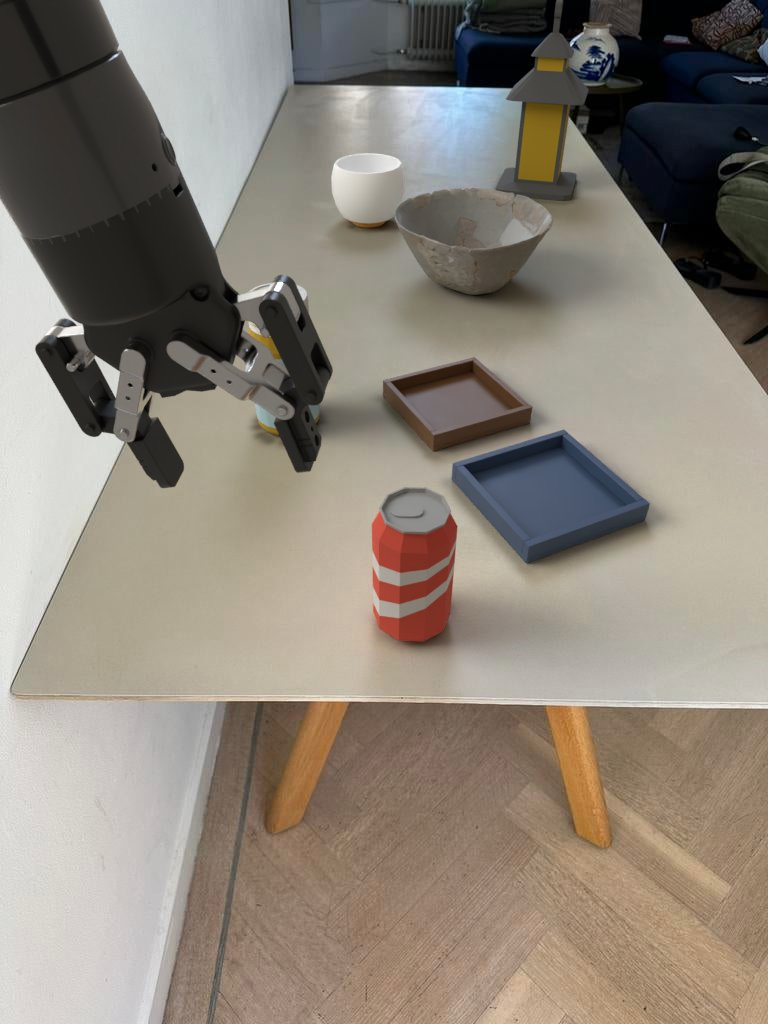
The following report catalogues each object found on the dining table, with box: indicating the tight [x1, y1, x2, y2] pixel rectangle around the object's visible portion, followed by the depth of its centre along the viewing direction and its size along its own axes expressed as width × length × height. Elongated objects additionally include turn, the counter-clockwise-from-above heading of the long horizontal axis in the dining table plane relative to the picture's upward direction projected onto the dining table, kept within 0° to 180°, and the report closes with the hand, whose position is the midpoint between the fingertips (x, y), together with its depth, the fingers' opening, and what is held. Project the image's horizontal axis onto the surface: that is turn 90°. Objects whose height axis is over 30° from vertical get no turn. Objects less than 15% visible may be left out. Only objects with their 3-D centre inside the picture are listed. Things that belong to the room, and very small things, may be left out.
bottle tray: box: [382, 356, 533, 452], centre depth 87 cm, size 12×12×2 cm
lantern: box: [495, 0, 589, 202], centre depth 136 cm, size 14×14×30 cm
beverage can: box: [371, 486, 458, 642], centre depth 59 cm, size 6×6×12 cm
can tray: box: [451, 429, 651, 564], centre depth 74 cm, size 14×14×2 cm
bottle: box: [247, 282, 321, 436], centre depth 81 cm, size 7×7×15 cm
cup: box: [330, 152, 406, 228], centre depth 129 cm, size 12×12×10 cm
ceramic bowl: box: [394, 187, 553, 296], centre depth 110 cm, size 22×23×10 cm
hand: (239, 471), depth 44 cm, fingers open, 8 cm apart
